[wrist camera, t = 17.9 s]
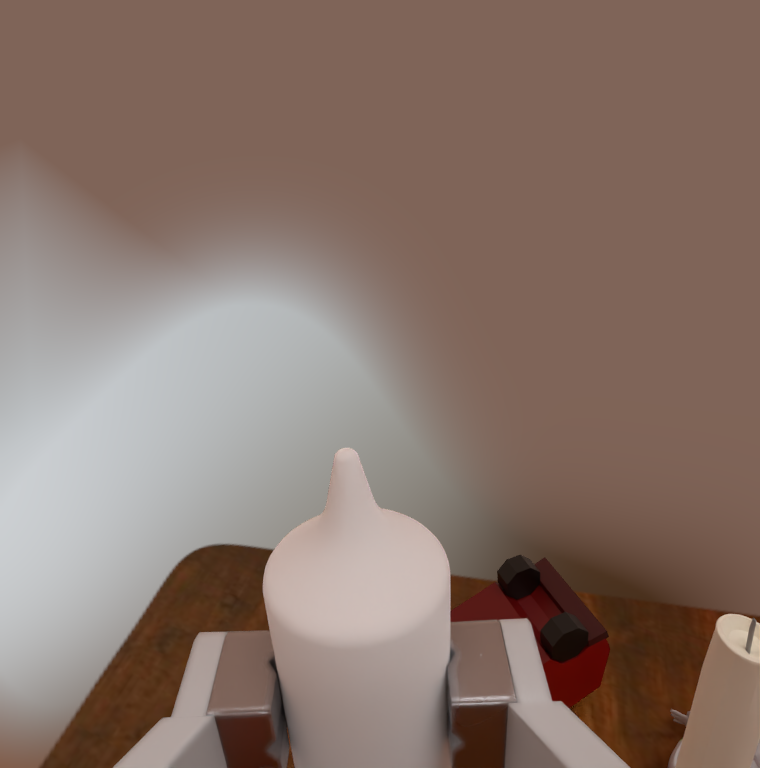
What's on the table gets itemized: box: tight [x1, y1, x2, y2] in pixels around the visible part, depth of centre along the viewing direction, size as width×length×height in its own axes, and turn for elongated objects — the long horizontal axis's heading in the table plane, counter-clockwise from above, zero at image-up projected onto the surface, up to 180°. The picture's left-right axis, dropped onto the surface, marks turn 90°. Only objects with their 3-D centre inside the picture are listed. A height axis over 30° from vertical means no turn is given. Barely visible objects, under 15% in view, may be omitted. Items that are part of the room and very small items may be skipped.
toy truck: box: [450, 555, 610, 708], centre depth 30 cm, size 6×12×5 cm, turn 109°
